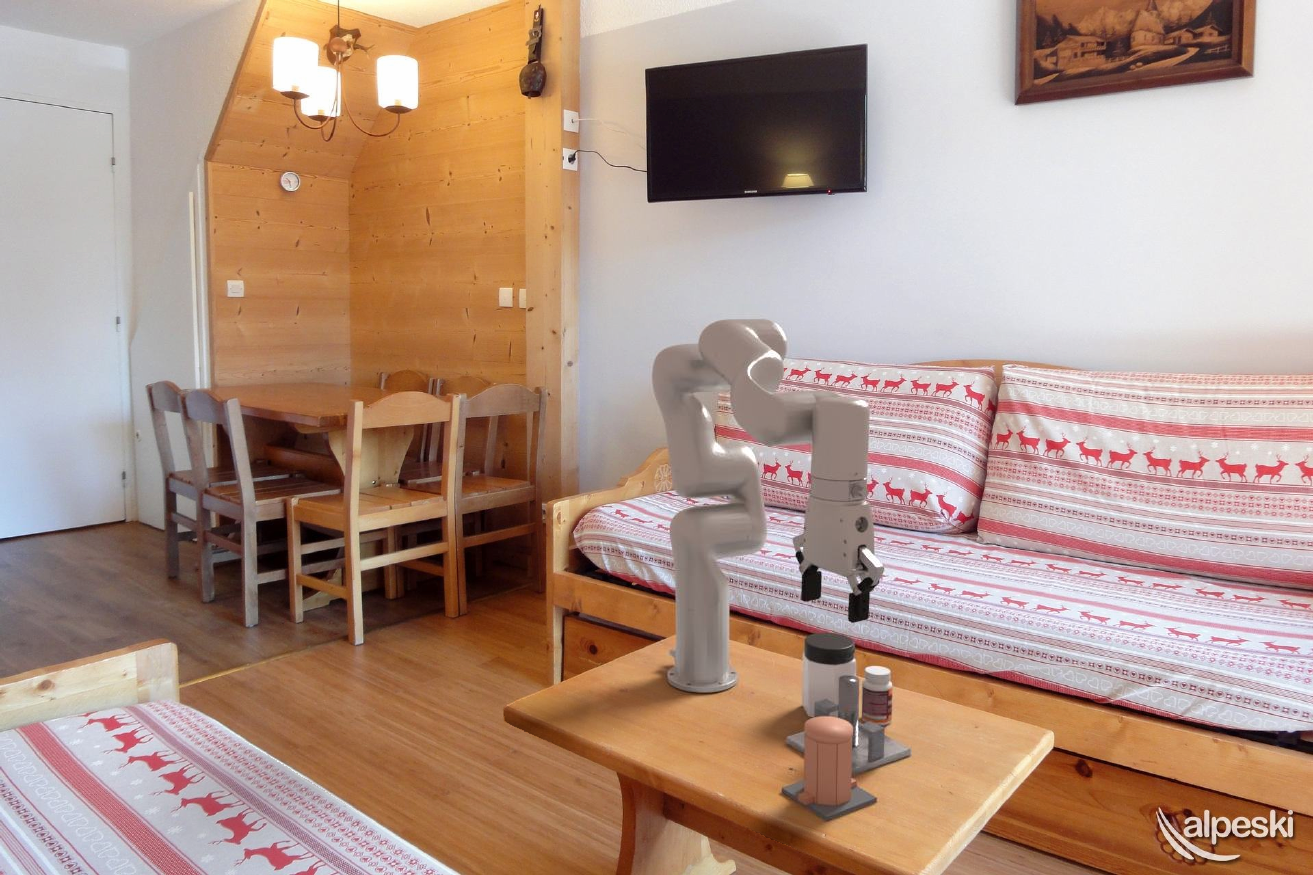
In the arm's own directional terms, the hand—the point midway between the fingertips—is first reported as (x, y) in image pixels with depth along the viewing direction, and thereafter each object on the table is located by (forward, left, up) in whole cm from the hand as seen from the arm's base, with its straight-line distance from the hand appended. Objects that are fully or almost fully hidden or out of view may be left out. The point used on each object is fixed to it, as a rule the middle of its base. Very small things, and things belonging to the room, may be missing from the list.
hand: (833, 609), depth 130 cm
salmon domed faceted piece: (+4, -4, -24) cm, 25 cm away
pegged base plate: (-5, +8, -24) cm, 26 cm away
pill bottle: (-10, +19, -25) cm, 33 cm away
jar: (-17, +15, -25) cm, 33 cm away
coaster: (+4, -4, -24) cm, 25 cm away
